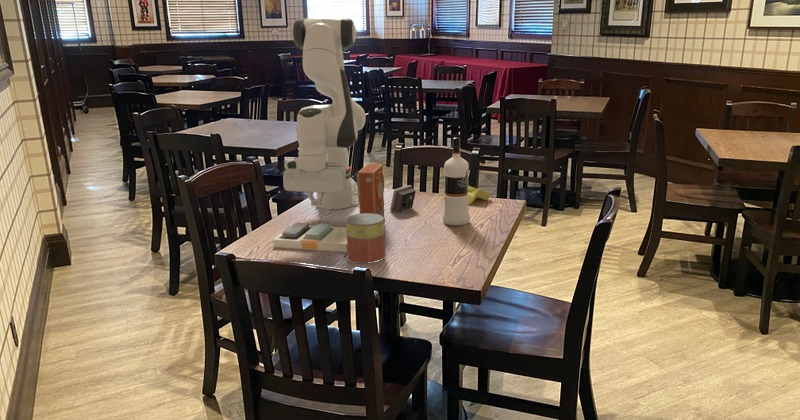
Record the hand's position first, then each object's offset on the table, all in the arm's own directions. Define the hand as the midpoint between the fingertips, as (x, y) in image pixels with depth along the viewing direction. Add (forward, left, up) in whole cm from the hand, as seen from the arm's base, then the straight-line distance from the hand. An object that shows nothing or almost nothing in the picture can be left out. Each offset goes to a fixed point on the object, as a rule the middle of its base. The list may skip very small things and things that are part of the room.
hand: (316, 205), depth 190 cm
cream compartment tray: (0, 0, -13) cm, 13 cm away
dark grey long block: (0, -8, -12) cm, 14 cm away
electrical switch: (-41, +18, -13) cm, 46 cm away
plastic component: (-61, +39, -13) cm, 74 cm away
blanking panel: (0, 0, -12) cm, 12 cm away
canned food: (+9, +19, -13) cm, 25 cm away
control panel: (-17, +13, -13) cm, 25 cm away
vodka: (-29, +40, -13) cm, 51 cm away
